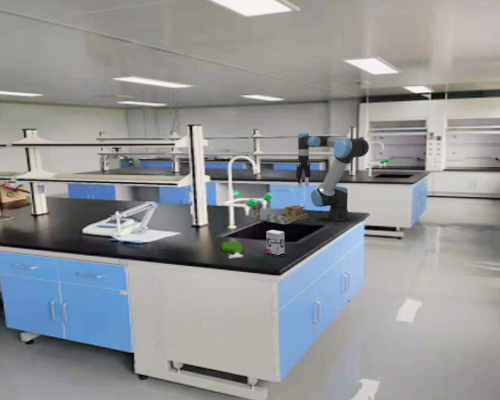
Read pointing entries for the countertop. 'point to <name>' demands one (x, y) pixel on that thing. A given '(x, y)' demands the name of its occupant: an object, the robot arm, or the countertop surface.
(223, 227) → the countertop surface
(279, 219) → the bay
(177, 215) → the countertop surface
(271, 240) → the ink box
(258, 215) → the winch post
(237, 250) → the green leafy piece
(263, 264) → the countertop surface
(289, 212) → the crate
